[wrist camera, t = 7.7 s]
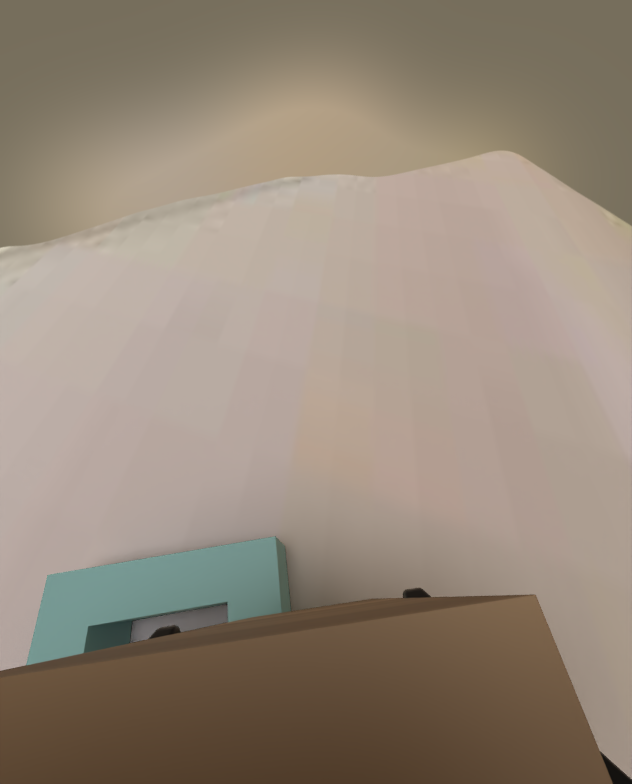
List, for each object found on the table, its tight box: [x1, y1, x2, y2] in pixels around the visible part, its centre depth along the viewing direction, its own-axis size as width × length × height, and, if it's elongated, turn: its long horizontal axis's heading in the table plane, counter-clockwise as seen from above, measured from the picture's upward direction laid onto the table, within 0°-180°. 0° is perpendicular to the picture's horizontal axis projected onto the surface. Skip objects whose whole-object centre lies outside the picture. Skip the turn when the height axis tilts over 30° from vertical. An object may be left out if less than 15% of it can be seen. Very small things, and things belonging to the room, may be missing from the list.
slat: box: [0, 595, 613, 784], centre depth 7 cm, size 3×5×13 cm, turn 97°
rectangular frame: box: [26, 536, 291, 665], centre depth 16 cm, size 10×12×4 cm
